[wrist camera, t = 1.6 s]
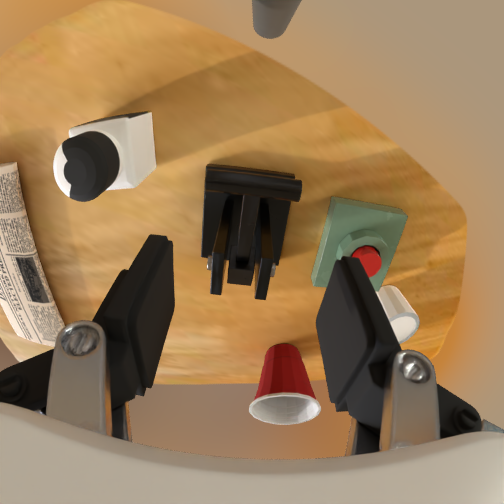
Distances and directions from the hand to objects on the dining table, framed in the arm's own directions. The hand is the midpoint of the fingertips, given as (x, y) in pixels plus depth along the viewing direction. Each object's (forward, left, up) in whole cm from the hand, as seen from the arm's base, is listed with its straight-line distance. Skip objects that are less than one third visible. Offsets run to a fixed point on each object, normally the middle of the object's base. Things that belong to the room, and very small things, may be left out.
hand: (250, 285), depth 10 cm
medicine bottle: (+1, -15, -26) cm, 30 cm away
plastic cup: (+34, +9, -26) cm, 44 cm away
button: (+11, +15, -22) cm, 29 cm away
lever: (+4, 0, -14) cm, 14 cm away
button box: (+11, +15, -25) cm, 32 cm away
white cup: (+20, +23, -26) cm, 40 cm away
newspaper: (+22, -42, -26) cm, 54 cm away
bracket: (+9, 0, -25) cm, 27 cm away
